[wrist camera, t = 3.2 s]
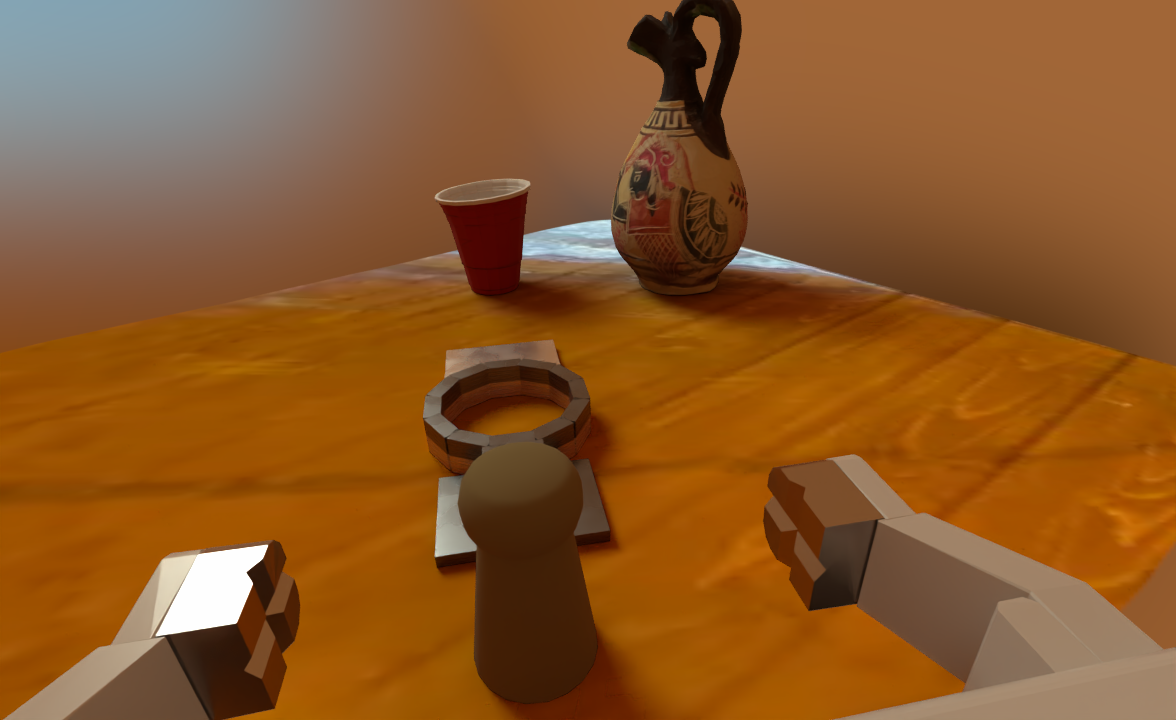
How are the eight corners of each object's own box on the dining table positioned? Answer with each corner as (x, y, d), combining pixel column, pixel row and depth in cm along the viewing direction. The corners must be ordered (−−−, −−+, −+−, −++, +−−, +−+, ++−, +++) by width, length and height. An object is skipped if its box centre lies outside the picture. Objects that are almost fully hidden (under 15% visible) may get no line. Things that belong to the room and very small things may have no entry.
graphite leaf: (418, 570, 34) (410, 532, 33) (433, 397, 50) (428, 368, 49) (626, 538, 36) (626, 501, 34) (575, 381, 52) (573, 352, 51)
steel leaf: (425, 489, 40) (422, 473, 39) (436, 359, 57) (434, 345, 56) (602, 466, 42) (602, 449, 41) (563, 346, 58) (562, 333, 58)
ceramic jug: (584, 287, 72) (575, -5, 58) (661, 254, 82) (669, -2, 68) (706, 324, 62) (730, -20, 48) (777, 282, 72) (814, -13, 58)
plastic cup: (459, 271, 78) (447, 176, 73) (542, 271, 78) (536, 175, 72) (437, 304, 69) (420, 197, 63) (531, 303, 68) (523, 196, 62)
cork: (536, 576, 33) (520, 407, 28) (622, 636, 30) (622, 456, 25) (448, 651, 29) (411, 471, 24) (536, 731, 26) (515, 540, 21)
